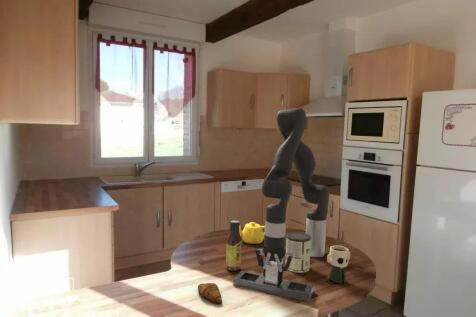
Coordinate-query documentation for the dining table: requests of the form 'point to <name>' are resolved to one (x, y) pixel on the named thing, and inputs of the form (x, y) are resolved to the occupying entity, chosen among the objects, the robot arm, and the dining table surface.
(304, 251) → the coffee can
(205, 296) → the croissant
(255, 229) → the teapot
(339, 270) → the character mug
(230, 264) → the sauce bottle
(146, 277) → the dining table surface
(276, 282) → the white rectangular block
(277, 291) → the tray
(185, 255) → the dining table surface
